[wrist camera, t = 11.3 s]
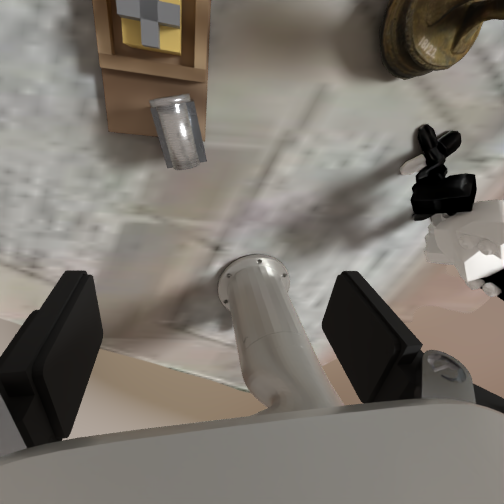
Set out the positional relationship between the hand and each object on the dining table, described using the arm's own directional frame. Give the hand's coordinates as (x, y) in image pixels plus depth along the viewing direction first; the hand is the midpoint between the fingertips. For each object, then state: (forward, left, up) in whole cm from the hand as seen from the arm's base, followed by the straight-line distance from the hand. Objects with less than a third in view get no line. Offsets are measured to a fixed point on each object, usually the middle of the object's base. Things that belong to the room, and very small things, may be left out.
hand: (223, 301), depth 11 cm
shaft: (+3, +3, -30) cm, 30 cm away
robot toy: (-3, -35, -30) cm, 46 cm away
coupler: (+12, +5, -29) cm, 32 cm away
